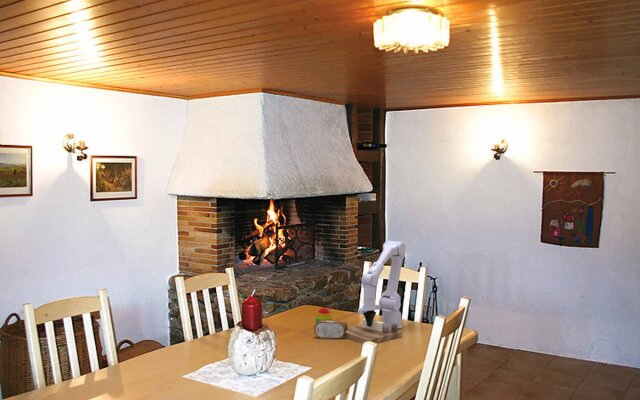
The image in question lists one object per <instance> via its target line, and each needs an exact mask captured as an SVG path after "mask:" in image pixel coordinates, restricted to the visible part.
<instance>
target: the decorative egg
mask: <svg viewBox="0 0 640 400" xmlns="http://www.w3.org/2000/svg"><path fill="white" fill-rule="evenodd" d="M332 317H333V316H332V314H331V312H330V310H329V309H328V308H326V307H321V308H320V309H319V310H318V311H317V313H316V315H315V324H316V323H317V322H318V321H320V320H332V319H333V318H332Z"/></svg>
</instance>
